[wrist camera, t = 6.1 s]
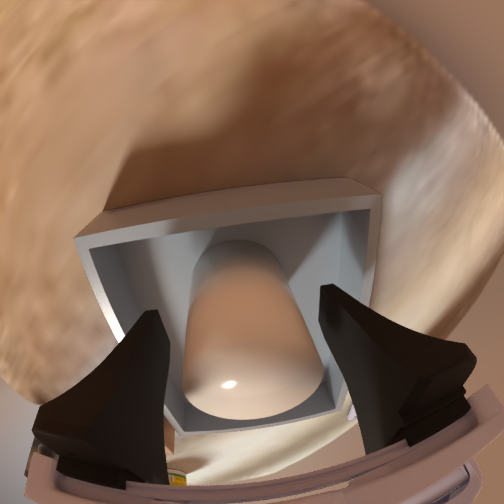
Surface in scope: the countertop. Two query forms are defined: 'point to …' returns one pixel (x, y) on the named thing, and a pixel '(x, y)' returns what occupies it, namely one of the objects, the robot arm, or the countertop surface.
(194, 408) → the tote
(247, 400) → the beige round piece
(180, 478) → the supplement bottle
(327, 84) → the countertop surface
